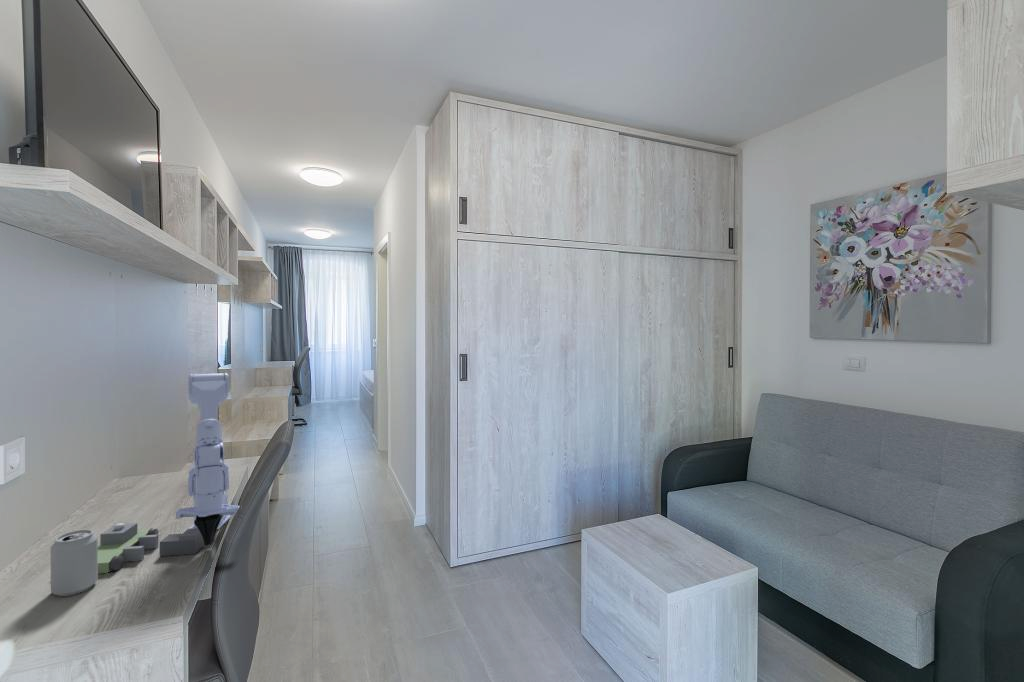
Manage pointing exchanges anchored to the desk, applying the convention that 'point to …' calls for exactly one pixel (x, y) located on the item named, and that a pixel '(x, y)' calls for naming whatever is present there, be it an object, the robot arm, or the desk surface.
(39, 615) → the desk surface
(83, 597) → the desk surface
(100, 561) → the deck
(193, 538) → the grey rectangular box
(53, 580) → the can
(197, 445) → the robot arm
